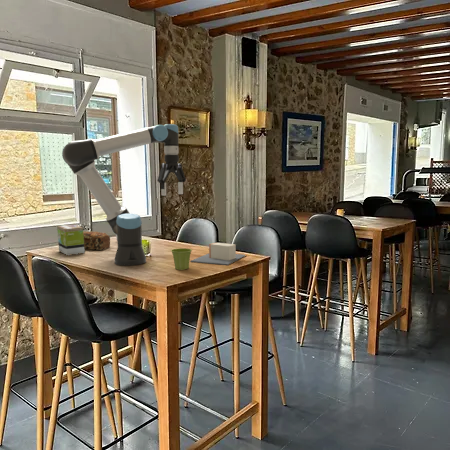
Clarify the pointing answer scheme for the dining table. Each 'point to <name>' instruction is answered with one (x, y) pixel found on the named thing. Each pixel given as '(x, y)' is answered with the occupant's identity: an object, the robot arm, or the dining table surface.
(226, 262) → the slate mat
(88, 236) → the bread
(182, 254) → the plant pot
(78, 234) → the tea box
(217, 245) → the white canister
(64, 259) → the dining table surface
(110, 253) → the dining table surface
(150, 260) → the dining table surface
